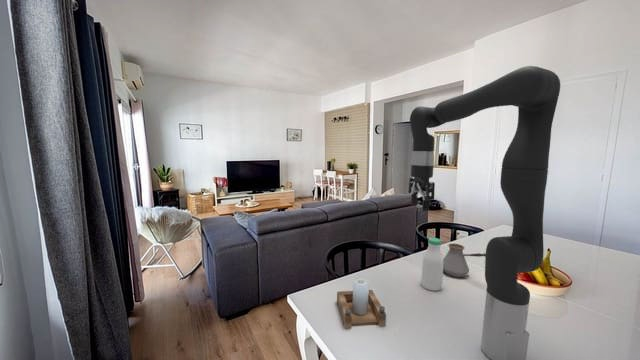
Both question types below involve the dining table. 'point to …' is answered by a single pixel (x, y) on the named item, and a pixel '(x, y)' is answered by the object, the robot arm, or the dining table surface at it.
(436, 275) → the milk bottle
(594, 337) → the dining table surface
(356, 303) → the cylinder
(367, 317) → the holder
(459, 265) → the coffee pot
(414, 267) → the dining table surface
